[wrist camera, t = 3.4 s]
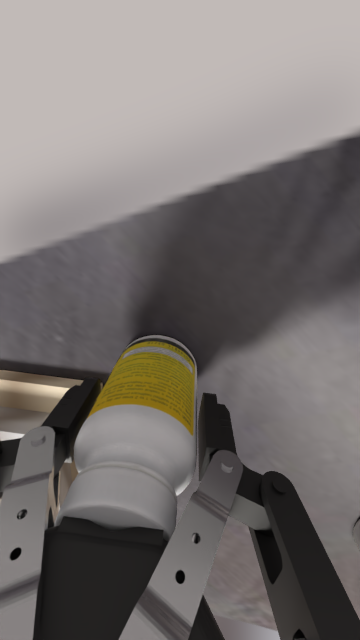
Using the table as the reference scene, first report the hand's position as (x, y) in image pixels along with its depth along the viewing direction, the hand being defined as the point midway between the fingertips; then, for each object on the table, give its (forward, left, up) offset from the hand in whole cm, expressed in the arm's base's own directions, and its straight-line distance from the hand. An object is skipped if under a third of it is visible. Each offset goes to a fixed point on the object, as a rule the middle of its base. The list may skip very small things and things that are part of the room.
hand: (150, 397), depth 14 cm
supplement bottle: (0, 0, -3) cm, 3 cm away
